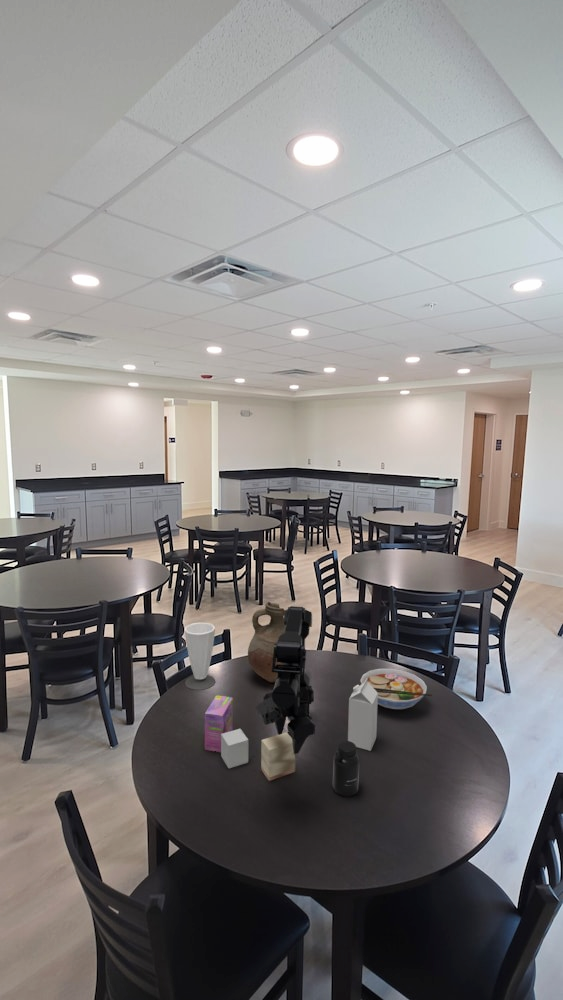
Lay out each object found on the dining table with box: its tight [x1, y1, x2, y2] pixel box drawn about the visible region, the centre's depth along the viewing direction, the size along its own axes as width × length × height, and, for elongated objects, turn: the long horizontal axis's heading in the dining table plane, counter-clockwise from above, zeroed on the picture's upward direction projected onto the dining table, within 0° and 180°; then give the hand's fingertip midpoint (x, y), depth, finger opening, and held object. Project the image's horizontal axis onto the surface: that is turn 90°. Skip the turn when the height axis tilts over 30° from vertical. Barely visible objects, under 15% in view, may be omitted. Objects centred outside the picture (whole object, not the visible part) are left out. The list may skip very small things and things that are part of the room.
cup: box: [184, 621, 216, 691], centre depth 181 cm, size 12×12×22 cm
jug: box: [247, 601, 286, 683], centre depth 184 cm, size 22×22×30 cm
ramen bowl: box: [359, 668, 431, 710], centre depth 169 cm, size 25×23×8 cm
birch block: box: [260, 731, 296, 782], centre depth 133 cm, size 8×5×9 cm, turn 118°
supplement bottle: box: [332, 740, 360, 797], centre depth 127 cm, size 7×7×12 cm
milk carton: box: [347, 679, 379, 752], centre depth 146 cm, size 7×7×19 cm
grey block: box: [220, 728, 249, 769], centre depth 138 cm, size 6×6×7 cm
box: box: [204, 695, 234, 753], centre depth 146 cm, size 10×6×12 cm, turn 168°
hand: (287, 743), depth 126 cm, fingers open, 9 cm apart
